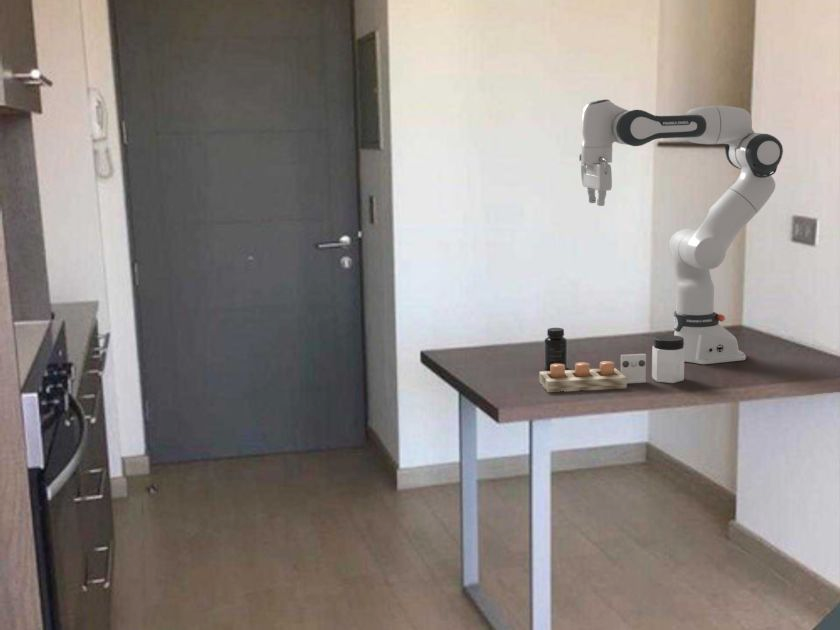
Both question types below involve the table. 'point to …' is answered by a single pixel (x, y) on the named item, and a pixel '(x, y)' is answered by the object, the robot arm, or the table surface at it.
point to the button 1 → (557, 370)
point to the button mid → (582, 369)
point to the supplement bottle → (555, 348)
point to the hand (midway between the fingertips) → (596, 204)
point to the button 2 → (607, 368)
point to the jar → (668, 358)
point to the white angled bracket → (634, 367)
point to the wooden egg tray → (582, 381)
